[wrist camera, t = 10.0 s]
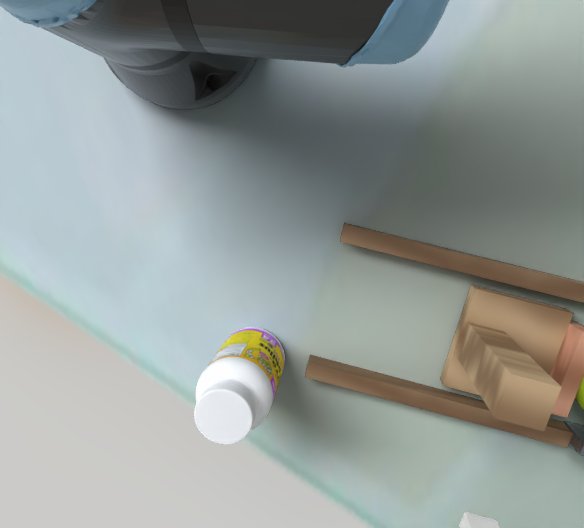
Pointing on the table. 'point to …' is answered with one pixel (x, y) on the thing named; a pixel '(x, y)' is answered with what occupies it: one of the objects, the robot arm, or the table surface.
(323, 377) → the track rails
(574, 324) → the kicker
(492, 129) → the table surface
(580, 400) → the tennis ball
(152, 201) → the table surface
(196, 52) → the robot arm
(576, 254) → the table surface
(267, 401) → the supplement bottle
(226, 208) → the table surface
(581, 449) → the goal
